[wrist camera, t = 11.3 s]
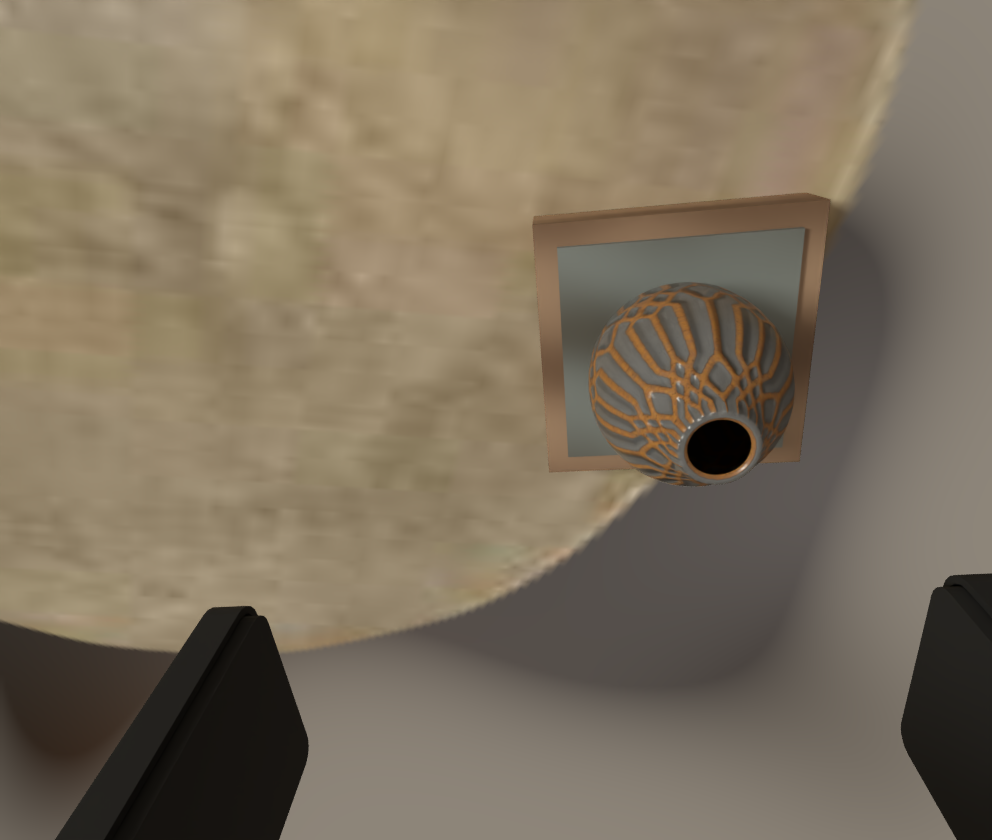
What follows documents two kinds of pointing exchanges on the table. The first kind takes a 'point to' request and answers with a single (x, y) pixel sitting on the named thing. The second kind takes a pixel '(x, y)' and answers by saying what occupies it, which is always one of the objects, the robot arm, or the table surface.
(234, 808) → the robot arm
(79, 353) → the table surface
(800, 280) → the plinth
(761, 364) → the vase
